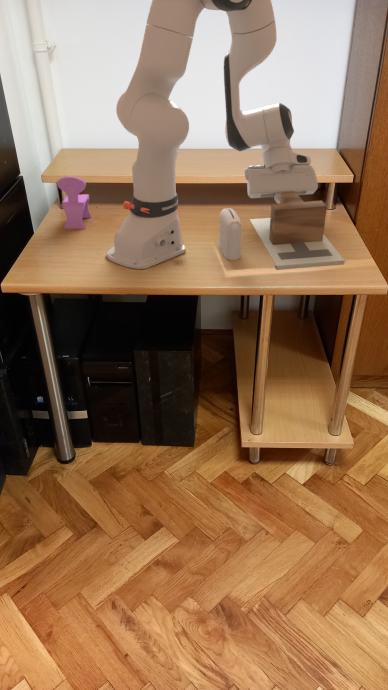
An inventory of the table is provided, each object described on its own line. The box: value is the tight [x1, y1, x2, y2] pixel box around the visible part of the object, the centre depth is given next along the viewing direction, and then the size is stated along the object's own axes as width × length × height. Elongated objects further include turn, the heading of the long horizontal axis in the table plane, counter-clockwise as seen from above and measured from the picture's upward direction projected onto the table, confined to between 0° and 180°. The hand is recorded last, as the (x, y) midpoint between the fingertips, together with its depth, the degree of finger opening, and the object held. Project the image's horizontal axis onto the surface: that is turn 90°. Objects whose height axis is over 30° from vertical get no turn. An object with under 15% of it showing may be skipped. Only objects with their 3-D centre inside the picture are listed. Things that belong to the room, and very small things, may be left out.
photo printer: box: [218, 207, 242, 261], centre depth 151 cm, size 10×4×12 cm, turn 11°
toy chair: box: [56, 175, 92, 230], centre depth 169 cm, size 8×9×15 cm
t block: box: [269, 191, 328, 245], centre depth 159 cm, size 12×14×10 cm
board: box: [249, 217, 345, 271], centre depth 160 cm, size 30×18×1 cm, turn 9°
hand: (285, 209), depth 165 cm, fingers closed
